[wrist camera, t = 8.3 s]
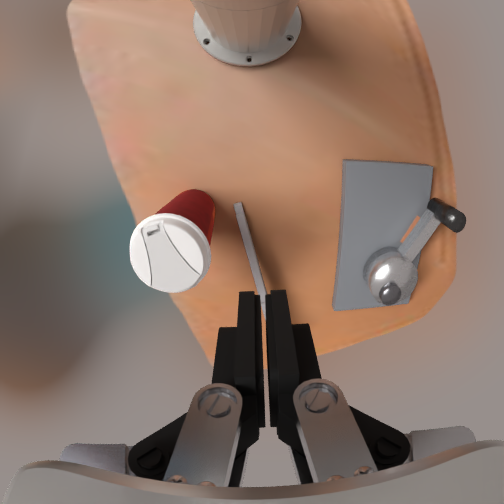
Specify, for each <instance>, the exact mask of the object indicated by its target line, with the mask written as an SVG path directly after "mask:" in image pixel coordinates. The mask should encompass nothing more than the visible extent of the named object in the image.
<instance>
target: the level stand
mask: <svg viewBox="0 0 504 504" xmlns="http://www.w3.org/2000/svg"><path fill="white" fill-rule="evenodd" d="M432 174H433V166H430V165H427V164H416V163H404V162H390V161H374V160H349V159H343V171H342V197H341V216H340V231H339V244H338V255H337V266H336V276H335V285H334V294H333V302H332V306H333V309H334V311H341V310H353V309H363V308H373V307H382V306H387V305H383V304H381V303H379V302H377V301H376V300H375V298H374V296H373V295H372V293H371V291H370V290H369V288H368V286H367V284H366V283H365V281H364V278H363V269H364V265H365V263H366V261H367V260H368V258H369V257H370V256H371V255H372V254H373V253H374V252H376V251H377V250H379V249H381V248H384V247H395V248H397V249H398V248H399V247H400V246H401V244H402V243H403V242H404V240H405V239H406V238H407V236H408V235H409V233H410V232H411V231H412V229H413V228H414V227H415V225H416V224H417V222H418V221H419V219H420V218H421V217H422V215H423V214H424V212H425V211H426V209H427V205H428V202H429V201H430V193H431V184H432ZM420 254H421V250H420V252H419V253H418V254H417V256H416V257H415V258H414V260H413V261H412V263H413V265H414V266H415V267H416V269H417V268H418V263H419V259H420ZM410 296H411V294H410V295H409V296H408V297H407V298H406V299H404V300H403V301H401V302H399V303H397V304H394V305H399V304H407V303H409V299H410ZM389 306H391V305H389Z"/></svg>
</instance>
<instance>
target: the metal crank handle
mask: <svg viewBox="0 0 504 504" xmlns="http://www.w3.org/2000/svg"><path fill="white" fill-rule="evenodd" d="M440 222H441V223H442V224H444V225H445V226H447V227H448V228H449V229H451V230H452V231H453V232H456V233H457V232H460V231H461V230H462V229H463V228H464V226H465V224H466V217H465V215H464V214H463V213H462V212H460V211H458V210H457V209H455V208H454V207H452V206H450V205H448V204H447V203H445V202H443V201H442V200H440V199H438V198H432V199H431V200H430V201H429V202H428V205H427V209H426V211H425V212H424V214H423V215H422V217H421V218H420V219H419V221H418V222H417V224H416V225H415V227H414V228H413V229H412V231H411V232H410V233H409V235H408V236H407V238H406V239H405V240H404V242H403V243H402V244H401V246H400V247H399V248H398V249H397V248H395V247H384V248H381V249H379V250H377V251H376V252H374V253H373V254H372V255H371V256H370V257H369V258H368V260H367V261H366V263H365V265H364V269H363V278H364V281H365V283H366V284H367V286H368V288H369V290H370V291H371V293H372V295H373V296H374V298H375V300H376V301H377V302H379V303H381V304H383V305H387V306H389V305H394V304H397V303H399V302H401V301H403V300H404V299H406V298H407V297H408V296H409V295H410V294H411V293H412V291H413V290H414V288H415V286H416V284H417V280H418V272H417V269H416V267H415V266H414V265H413V263H412V261H413V260H414V258H415V257H416V256H417V254H418V253H419V252H420V250H421V249H422V248H423V246H424V245H425V244H426V242H427V241H428V239H429V238H430V237H431V235H432V234H433V232H434V231H435V230H436V228H437V227H438V225H439V224H440Z"/></svg>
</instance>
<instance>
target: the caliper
mask: <svg viewBox="0 0 504 504" xmlns="http://www.w3.org/2000/svg"><path fill="white" fill-rule="evenodd" d="M234 209H235V212H236V218H237V221H238V225H239V228H240V232H241V235H242V239H243V242H244V246H245V249H246V253H247V256H248V260H249V263H250V267H251V270H252V273H253V277H254V280H255V284H256V287H257V291H258V294H259V295H260V300H261V306H262V310H263V313H264V317H265V320H266V310H265V295H267V291H266V288H265V284H264V281H263V277H262V273H261V270H260V266H259V263H258V259H257V255H256V252H255V248H254V245H253V241H252V238H251V234H250V230H249V227H248V223H247V220H246V217H245V213H244V211H243V207H242V203H241V202H239V203H236V204H234Z"/></svg>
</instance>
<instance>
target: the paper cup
mask: <svg viewBox="0 0 504 504" xmlns="http://www.w3.org/2000/svg"><path fill="white" fill-rule="evenodd" d="M214 219H215V205H214V202H213V200H212V199H211V198H210V196H209V195H208V194H206V193H205V192H203V191H200V190H196V189H191V190H187V191H184V192H182V193H181V194H179V195H178V196H176V197H175V198H174V199H173V200H171V201H170V202H169V203H168V204H167V205H165V206H164V207H163V208H162V209H160V210H159V211H158V212H157V213H156V214H155V215H152V216H150V217H148V218H146V219H144V220H143V221H142V222H141V223H140V224H139V225H138V226H137V227H136V228H135V230H134V232H133V234H132V237H131V240H130V259H131V264H132V266H133V269H134V270H135V272H136V274H137V275H138V277H139V278H140V279H141V280H142V281H143V282H144V283H145V284H147V285H148V286H150V287H152V288H154V289H157V290H160V291H163V292H174V293H178V292H183V291H186V290H188V289H191V288H193V287H195V286H196V285H197V284H198V283H199V282H200V281H201V280H202V279H203V278H204V276H205V275H206V273H207V271H208V269H209V267H210V262H211V250H210V242H211V237H212V231H213V225H214Z"/></svg>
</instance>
